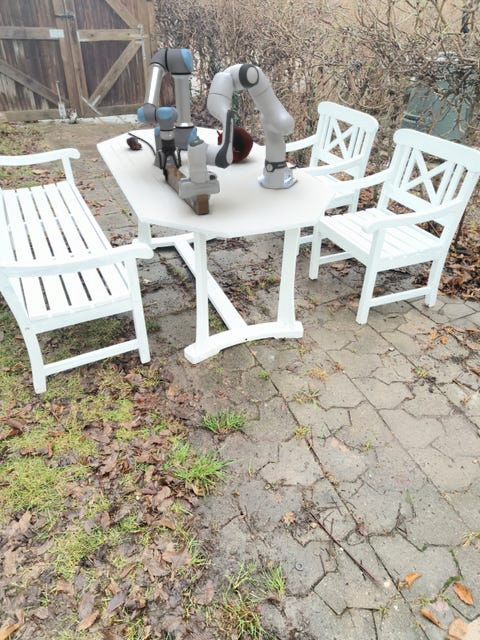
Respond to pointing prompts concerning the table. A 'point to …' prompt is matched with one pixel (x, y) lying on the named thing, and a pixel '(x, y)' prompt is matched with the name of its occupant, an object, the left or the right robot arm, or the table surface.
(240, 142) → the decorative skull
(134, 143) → the rock
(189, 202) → the bar
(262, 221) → the table surface
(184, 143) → the left robot arm
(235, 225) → the table surface
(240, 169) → the table surface
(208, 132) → the table surface
